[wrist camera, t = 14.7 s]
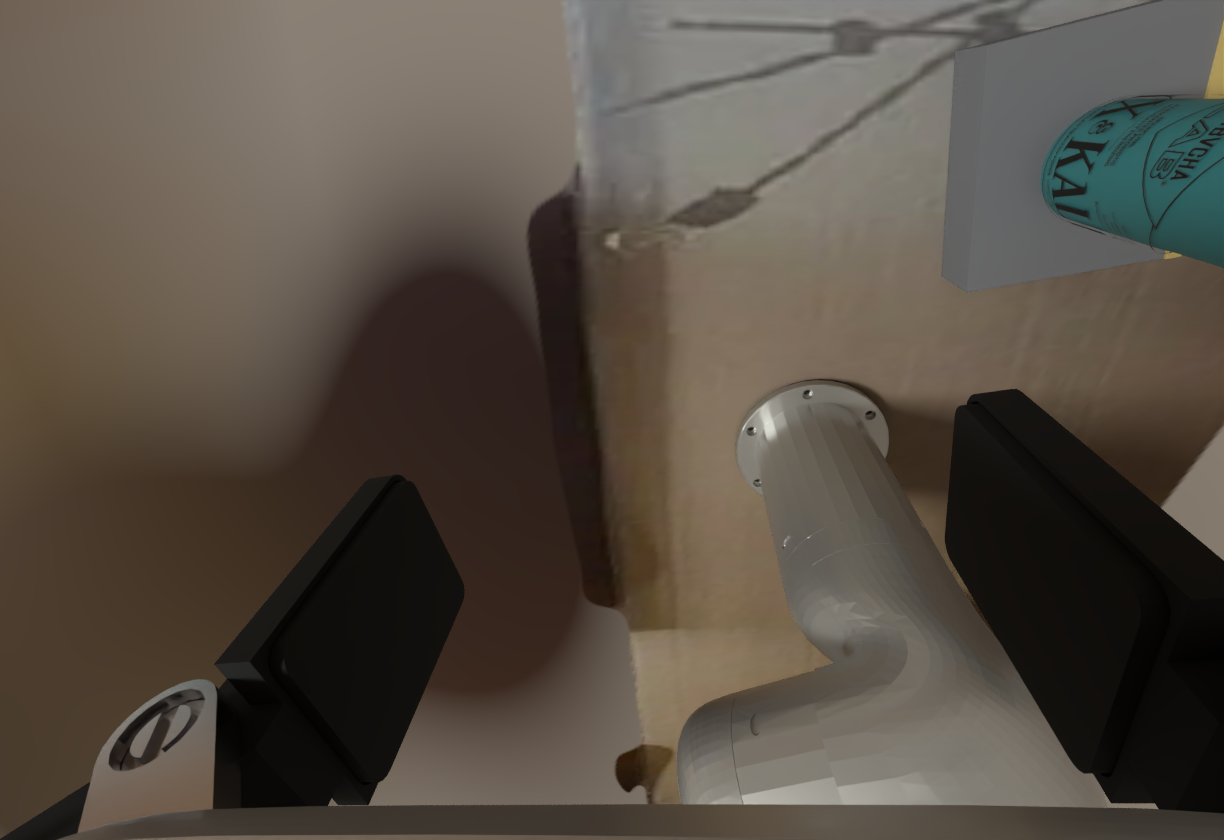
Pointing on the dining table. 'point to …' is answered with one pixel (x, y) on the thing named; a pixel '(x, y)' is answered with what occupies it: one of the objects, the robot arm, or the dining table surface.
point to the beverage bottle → (1144, 173)
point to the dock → (1058, 132)
